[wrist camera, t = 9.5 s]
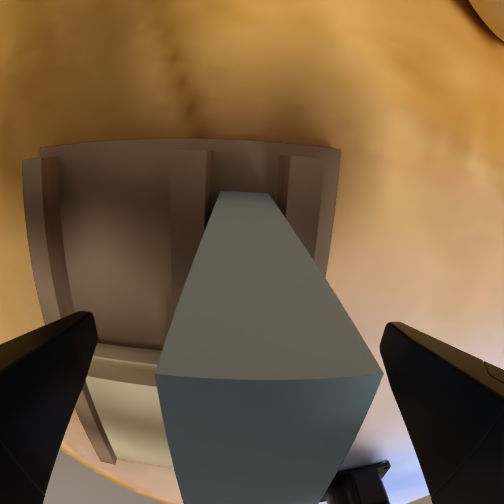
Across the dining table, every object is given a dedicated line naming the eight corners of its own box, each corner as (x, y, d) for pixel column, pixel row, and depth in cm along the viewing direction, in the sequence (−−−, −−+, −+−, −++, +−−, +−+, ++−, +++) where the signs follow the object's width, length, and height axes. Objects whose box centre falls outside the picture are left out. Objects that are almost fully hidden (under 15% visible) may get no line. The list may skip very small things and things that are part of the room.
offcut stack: (184, 453, 18) (180, 479, 16) (127, 445, 18) (120, 469, 16) (169, 351, 15) (160, 381, 13) (94, 342, 15) (78, 368, 13)
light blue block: (256, 335, 15) (280, 555, 5) (216, 333, 15) (201, 556, 5) (268, 193, 13) (383, 373, 2) (220, 190, 13) (155, 374, 2)
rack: (282, 455, 20) (287, 490, 17) (110, 441, 19) (99, 473, 16) (334, 149, 13) (363, 150, 10) (50, 146, 12) (8, 150, 9)
